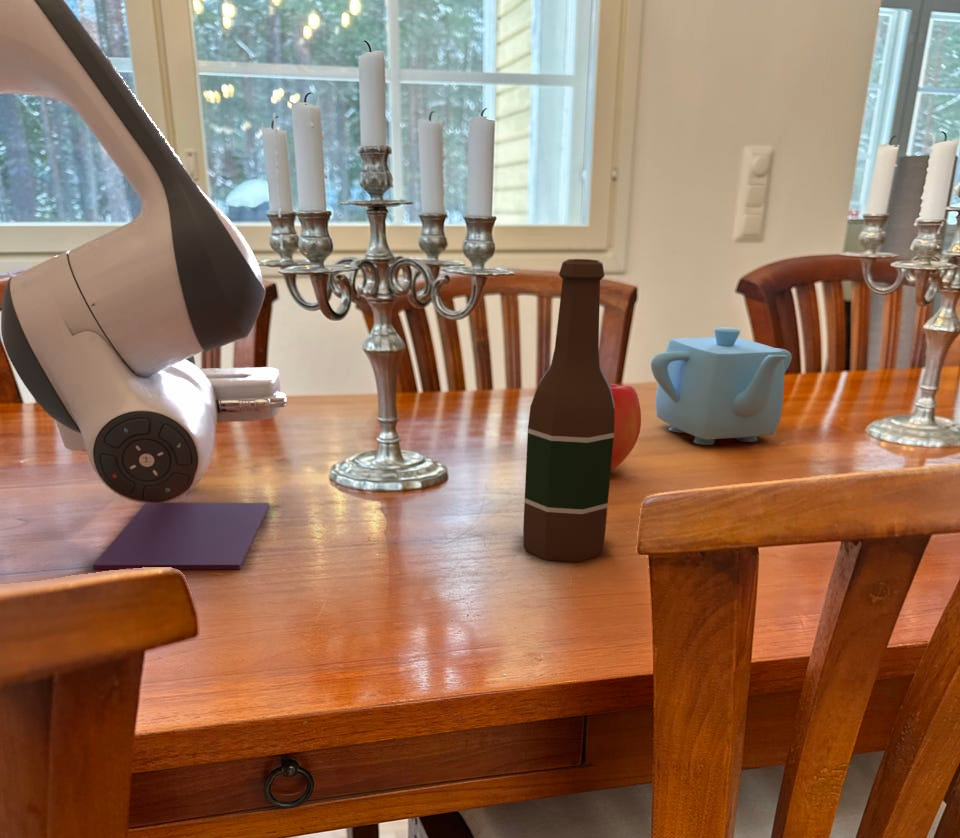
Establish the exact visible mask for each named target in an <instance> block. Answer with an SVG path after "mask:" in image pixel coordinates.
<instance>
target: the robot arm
mask: <svg viewBox="0 0 960 838" xmlns="http://www.w3.org/2000/svg"><path fill="white" fill-rule="evenodd" d="M0 95H26V96H34V97H35V96H37V97H43V98H48V99H52V100H55V101H58V102H61V103H63V104H65V105H66V106H68V107H70V108H72V109H73V110H74V111H75V112H76V113H77V114H78V115H79V116H80V118H81V119H82V120H83V122H84V123H85V125H86V126H87V127H88V129H89V130H90V131H91V133H92V134H93V136H94V137H95V138H96V139H97V141H98V142H99V144H100V145H101V146H102V148H103V150H105V152H106V153H107V154H108V156H109V157H110V159H111V160H112V161H113V163H114V165H115V166H116V167H117V169H118V170H119V171H120V172H121V173H122V176H123V177H124V178H125V180H126V181H127V182H128V183H129V185H130V186H131V188H132V190H134V191H135V193H136V195H137V196H138V197H139V199H140V202H141V210H140V212H139V214H138V215H137V216H136V217H135V218H134V219H133V220H131V221H129V222H127V223H126V224H124V225H121V226H119V227H117V228H115V229H113V230H111V231H108V232H106V233H105V234H102V235H100V236H98V237H96V238H94V239H92V240H90V241H88V242H86V243H85V242H84V243H83V244H81V245H79V246H77V247H75V248H73V249H69V250H65V251H63V252H62V253H60V254H58V255H55V256H53V257H50V258H49V259H46V260H44V261H42V262H40V263H38V264H36V265H34V266H32V267H29V268H28V269H26V270H24V271H22V272H20V273H18V274H16V275H15V276H11V277H9V279H8V281H7V282H6V285H5V287H4V290H3V295H2V301H1V312H0V313H1V314H0V330H1V331H0V333H1V338H2V343H3V346H4V349H5V351H6V355H7V356H8V358H9V361H10V363H11V364H12V366H13V368H14V369H15V372H16V374H17V376H18V377H19V379H20V380H21V381H22V383H23V384H24V386H25V388H26V389H27V390H28V392H29V393H30V394H31V396H32V397H33V398H34V399H35V401H36V402H37V403H38V404H39V406H40V407H41V408H42V409H43V410H44V411H45V412H46V413H47V414H48V415H49V416H50V417H51V418H52V419H53V420H54V421H56V422H55V423H56V426H57V429H58V431H59V434H60V437H61V440H62V443H63V446H64V448H65V449H67V450H70V451H80V452H86V454H87V457H88V458H87V459H88V461H89V463H90V465H91V467H92V469H93V471H94V472H95V474H96V475H97V477H98V478H99V480H100V481H101V482H102V484H103V485H104V486H106V488H108V489H109V490H110V491H111V492H113V493H114V494H116V495H118V496H120V497H122V498H123V499H126V500H129V501H132V502H135V503H140V504H145V503H147V504H158V503H170V502H173V501H175V500H177V499H180V498H182V497H183V496H185V495H187V494H188V493H189V492H190V491H192V490H193V489H194V488H195V487H196V486H197V485H198V484H199V483H200V481H201V480H202V479H203V477H204V476H205V474H206V473H207V471H208V469H209V467H210V464H211V462H212V459H213V454H214V449H215V443H216V433H217V425H218V423H236V422H257V421H258V422H259V421H267V420H270V419H273V418H275V417H276V416H277V415H278V414H279V413H280V411H281V409H282V408H285V407H286V406H287V402H288V399H287V396H286V393H284V392H282V385H281V375H280V371H279V369H277V368H274V367H267V366H261V367H260V366H259V367H258V366H257V367H217V368H216V367H214V368H213V367H209V368H199V367H198V366H197V365H196V364H195V365H194V364H192V363H191V362H189V361H187V360H185V359H187V358H189V357H191V356H194V357H195V356H196V355H197V354H200V353H202V352H205V353H207V352H209V351H213V350H215V349H218V348H221V347H224V346H226V345H229V344H232V343H234V342H238V341H240V340H242V339H246V338H248V336H249V335H250V334H251V331H252V330H253V328H254V327H255V324H256V322H257V320H258V318H259V315H260V312H261V310H262V307H263V304H264V302H265V301H264V300H265V296H266V292H267V290H266V288H265V286H264V279H263V275H262V271H261V268H260V266H259V263H258V261H257V258H256V257H255V255H254V252H253V250H252V249H251V247H250V245H249V244H248V242H247V240H246V239H245V237H244V236H243V235H242V233H241V232H240V231H239V229H238V228H237V226H235V224H234V223H233V222H232V221H231V220H230V219H229V218H228V216H227V215H226V214H225V213H224V212H223V211H221V209H220V208H219V207H218V205H216V204H215V203H214V201H212V200H211V199H210V198H209V197H208V196H207V195H206V193H204V191H202V189H201V188H200V187H199V186H198V185H197V184H196V182H195V181H194V179H193V178H192V177H191V175H190V174H189V172H188V171H187V170H186V168H185V167H184V165H183V162H182V161H181V159H180V157H179V156H178V155H177V153H176V152H175V151H174V148H172V146H171V144H170V143H169V142H168V140H167V139H166V138H165V136H164V135H163V133H162V132H161V131H160V129H159V128H158V127H157V125H156V123H155V122H154V121H153V119H152V118H151V117H150V116H149V113H148V112H147V111H146V109H145V108H144V107H143V105H142V104H141V102H140V101H139V100H138V99H137V97H136V95H135V94H134V92H133V91H132V90H131V88H130V86H129V85H128V84H127V83H126V81H125V80H124V78H123V76H121V74H120V73H119V71H118V70H117V68H116V67H115V66H114V64H113V62H112V61H111V60H110V59H109V57H108V56H107V55H106V53H105V51H104V50H103V49H102V48H101V47H100V46H99V45H98V43H97V42H96V41H95V40H94V39H93V37H92V36H91V35H90V34H89V32H88V30H87V29H86V28H85V27H84V25H83V24H82V22H81V20H79V18H78V17H77V16H76V14H75V13H74V11H73V10H72V9H71V7H70V6H69V5H68V4H67V3H66V1H65V0H0Z"/></svg>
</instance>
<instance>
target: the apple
mask: <svg viewBox="0 0 960 838" xmlns="http://www.w3.org/2000/svg"><path fill="white" fill-rule="evenodd" d="M609 384H610V387H611V391H612V395H613V399H614V408H615V413H614V440H613V451H612V462H611V472H612V471H613V470H615V469H616V468H617V467H619V466H620V465H621V463H622V462H624V460H626V459H627V457H628V456H629V455H630V453H631V452H632V451H633V449H634V448H635V445H636V444H637V441H638V439H639V436H640V433H641V427H642V413H641V411H642V410H641V405H640V399H639V396H638V393H637V390H636V388H635V387H633V386H632V385H619V384H616V383H610V382H609Z"/></svg>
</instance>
